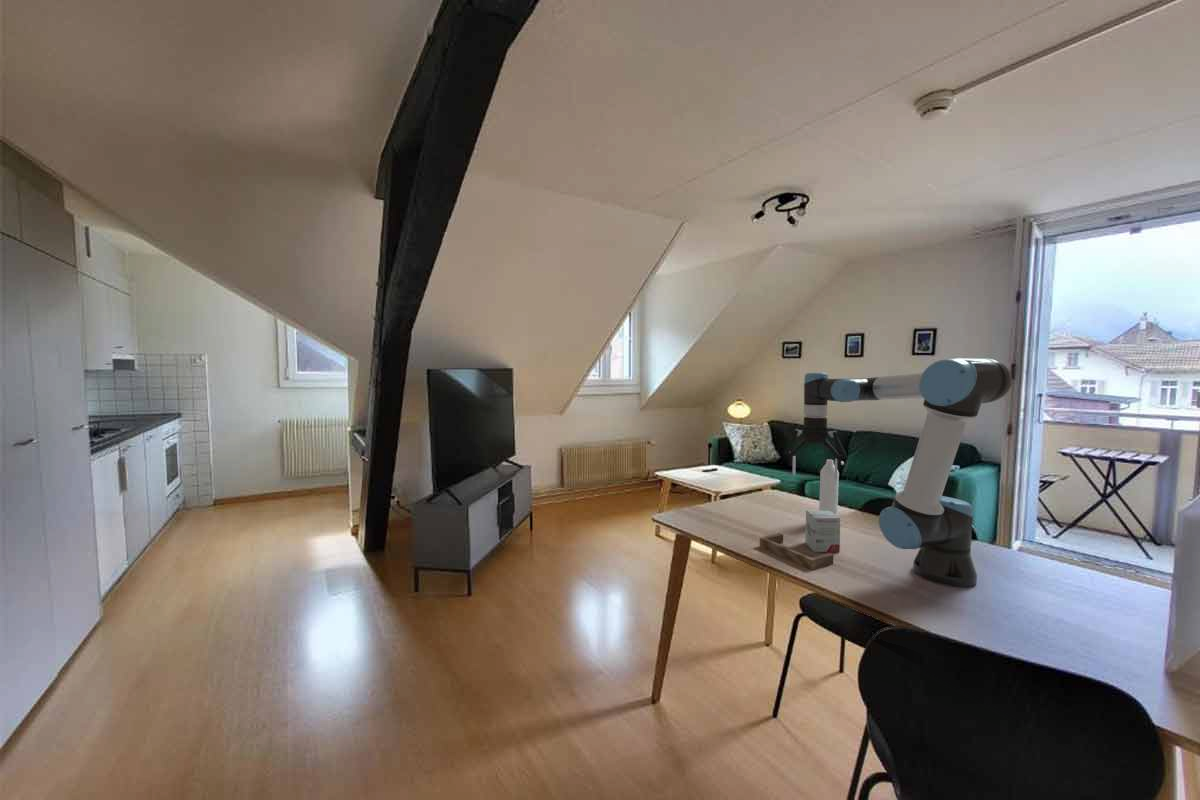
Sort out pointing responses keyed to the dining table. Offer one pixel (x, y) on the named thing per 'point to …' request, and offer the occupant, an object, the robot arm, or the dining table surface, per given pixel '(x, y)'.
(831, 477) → the water bottle
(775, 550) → the fence
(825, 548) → the ink box
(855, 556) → the dining table surface
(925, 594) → the dining table surface
